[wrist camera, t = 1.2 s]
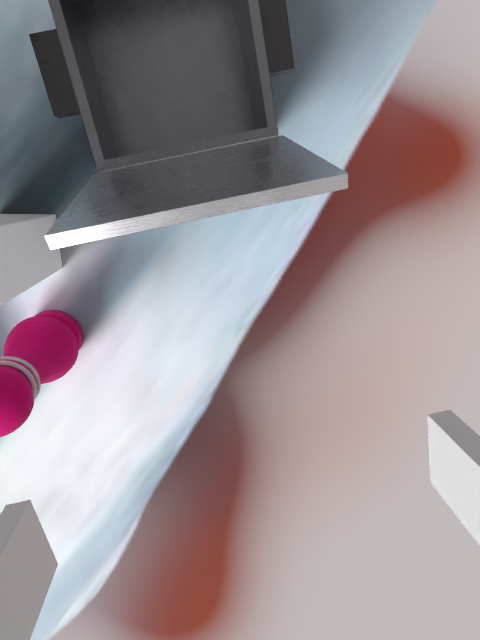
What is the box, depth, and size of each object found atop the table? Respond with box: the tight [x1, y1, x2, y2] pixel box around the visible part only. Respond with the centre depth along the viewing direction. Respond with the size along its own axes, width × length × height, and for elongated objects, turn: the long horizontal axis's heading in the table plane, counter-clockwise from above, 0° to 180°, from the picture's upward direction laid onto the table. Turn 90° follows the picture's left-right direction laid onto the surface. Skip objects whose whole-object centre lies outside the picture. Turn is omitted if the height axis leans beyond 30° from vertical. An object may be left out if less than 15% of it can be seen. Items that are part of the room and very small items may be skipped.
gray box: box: [29, 0, 294, 172], centre depth 38 cm, size 16×21×9 cm
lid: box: [45, 135, 348, 250], centre depth 29 cm, size 16×16×3 cm
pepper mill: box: [0, 310, 83, 437], centre depth 40 cm, size 7×7×20 cm
